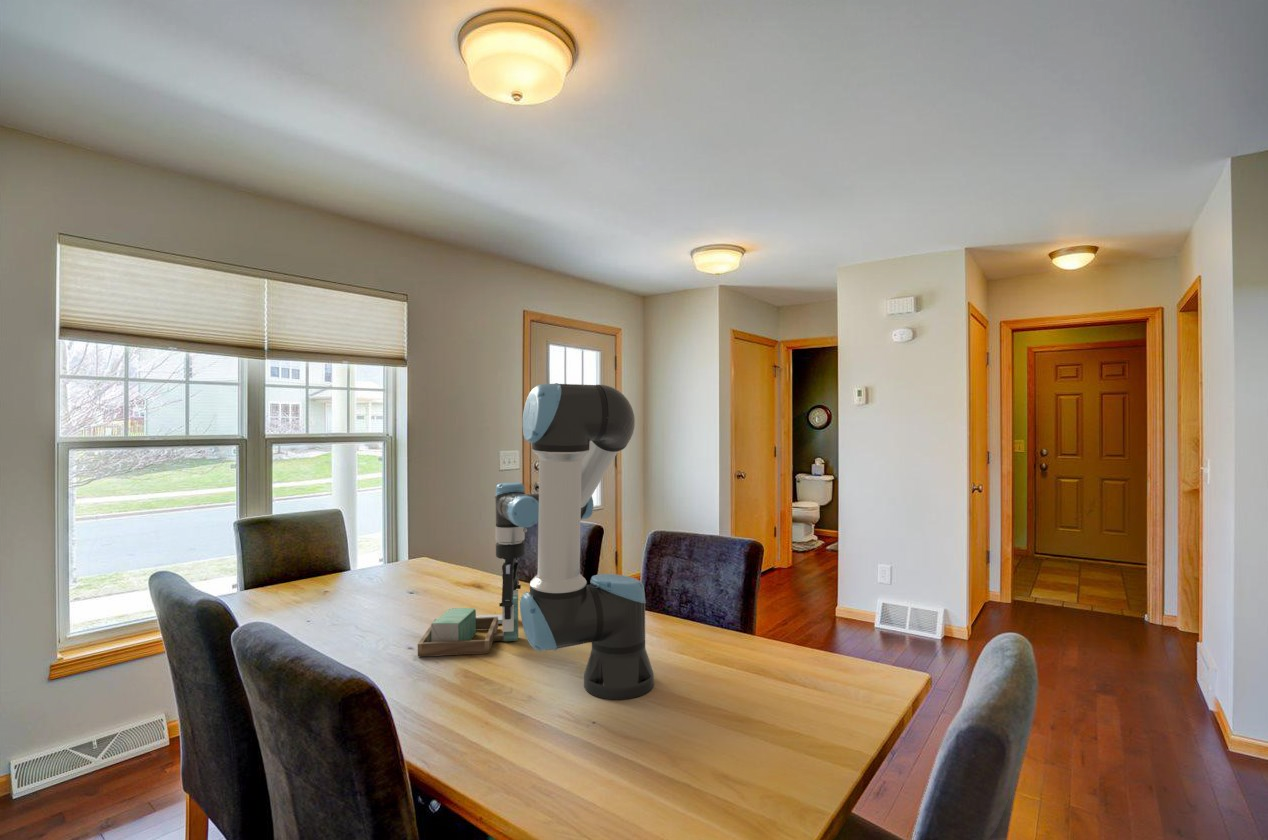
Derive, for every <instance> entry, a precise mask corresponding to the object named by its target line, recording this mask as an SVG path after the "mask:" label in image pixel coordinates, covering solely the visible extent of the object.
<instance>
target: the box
mask: <svg viewBox="0 0 1268 840" xmlns="http://www.w3.org/2000/svg"><path fill="white" fill-rule="evenodd" d="M476 611H477V610H476V609H475V608H472V607H469V608H468V607H467V608H466V607H459V608H458V607H456V608H449V609H448V610H447V611H446V612H444V613H443V614H441V616H439V617H438V618H436V619H437V620H435V619H434V620H435V621H434V620H433V621H432V623H431V624H430V626H431V631H432V635H431V642H444V641H466V640H473V639H474V637H475V636H476V633H477V632H476V615H477V612H476Z"/></svg>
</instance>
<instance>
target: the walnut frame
mask: <svg viewBox="0 0 1268 840" xmlns="http://www.w3.org/2000/svg"><path fill="white" fill-rule="evenodd" d="M505 601H510V600H505ZM513 605H514V631H512V632H502V633H499V632H498V629H499V624H498V617H480V618H476V630H488V631H487V634H486V637H485V639H471V640H466V641H444V642H431V635H432V631H431V625H430V626H429V627H428V629H427V630H426V632H425V633H424V634H423V635H422V637H421V639H420V640H419V642H418V643H417V657H436V656H438V657H439V656H455V655H457V656H458V655H476V654H478V655H479V654H489V653H490V650H491V648H492V645H493V643H494V642H496V641H497V642H498V641H499V642H500V641H503V642H517V641H518V639H519V594H518V595H513ZM437 619H438V618H435V619H434V620H433V622H434V621H435V620H437ZM497 632H498V633H497Z"/></svg>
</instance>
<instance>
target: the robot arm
mask: <svg viewBox="0 0 1268 840" xmlns="http://www.w3.org/2000/svg"><path fill="white" fill-rule="evenodd" d="M632 407H633V406H632V405H631V403H630V401H629V400H628V398H627V397H626V396H625V395H624V394H623V393H622V392H621V391H620V390H618V389H616V388H614V387H612V386H609V385H605V384H579V383H578V384H577V383H575V384H574V383H569V384H568V383H557V382H556V383H543V384H537V385H536V386H535V387H533V388H532V389H531V391H530V392H529V393H528V396H527V397H526V401H525V404H524V409H523V412H522V413H523V414H522V421H521V422H522V424H521V425H522V430H523V431H522V435H523V437H524V440H525V441H526V442H527V443H530V444H531V451H532V452H533V453H534V454H535V455H536V456H537V457H538V459H539V466H538V467H539V468H538V469H539V472H538V493H528V494H527V493H526V490H525V484H523V483H522V482H517V481H516V482H500V483H498V484H497V485H496V486H495V496H494V499H495V530H494V531H495V533H494V534H495V538H494V539H495V542H496V544H495V557H496V558H498V559H503V560H504V562H502V563H503V564H502V565H501V571H502V584H501V585H502V591H501V602H500V603H498V605H499V607H502V609H501V610H502V613H501V614H502V624H501V625H502V627H501V628H502V631H501V632H502V633H504V632H512V631H514V605H513V595H518V596H519V590H521V589H522V585H521V584H520V581H519V565H520V563H519V562H518V559H520V558H523V557H524V556H525V555H526V554H525V553H526V544H525V542H524V540H525V538H526V537H525V533H527V532H528V529H527V528H530V527H533V526H535V525H536V524H537V525H538V527H537V528H538V531H537V532H538V534H537V537H538V538H537V542H538V543H537V574H536V575H535V576H534V577H532V579H531V580H530V581H529V592H527V591H526V592H525V593H523V594H522V595H521V596H520V601H519V613H520V619H521V623H522V624H521V625H522V628H523V632H524V634H525V635H524V636H525V637H526V639H527V641H528V643H529V645H530V647H531V648H532V649H533V650H535V651H537V652H538V651H539V652H543V651H544V652H545V651H551V650H552V651H557V650H559V649H564V648H568V647H573V646H579V645H585V644H589V643H591V650H590V653H589V657H588V660H587V664H586V667H585V670H584V673H583V674H584V675H583V686H584V689H585V691H586V692H588V693H589V694H590V695H593V696H595V697H597V698H602V699H604V700H605V699H606V700H629V699H634V698H638V697H641V696H644V695H646V694H647V693H649V692H650V691H651V690H652V689H653V688H654V684H655V679H654V676H655V674H654V670H653V666H652V664H651V661H650V658H649V655H648V652H647V649H646V604H647V601H646V592H645V587H644V584H643V582H642V581H641V580H639V579H637V578H636V577H632V576H629V575H628V576H627V575H623V574H622V575H621V574H616V573H599V574H596V575H595V574H594V575H592V576H591V578H590V580H589V581H590V582H589V583H590V584H588V581H587V580H586V578H585V577H584V576H583V575H582V574H581V572H580V566H581V565H580V564H581V560H580V559H581V558H580V557H581V520H588V519H590V518H591V516H592V515H593V509H594V499H593V494H594V492H595V491H596V489H597V487H598V486H599V484H600V483H601V481H602V479H603V477H604V476H605V474H606V473H607V470H608V469H609V468H610V466H611V464H612V462H613V461H614V459H615V457H616V455H617V454H618V453H619V452H621V451H623V450H625V449H626V448H627V446H628V444H629V442H630V441H631V439H632V438H633V435H634V431H635V424H636V423H635V421H636V419H635V413H634V409H633V408H632ZM505 600H510V601H505Z"/></svg>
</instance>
